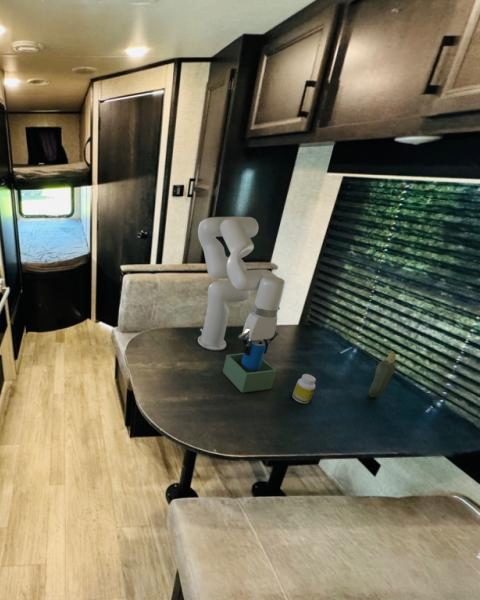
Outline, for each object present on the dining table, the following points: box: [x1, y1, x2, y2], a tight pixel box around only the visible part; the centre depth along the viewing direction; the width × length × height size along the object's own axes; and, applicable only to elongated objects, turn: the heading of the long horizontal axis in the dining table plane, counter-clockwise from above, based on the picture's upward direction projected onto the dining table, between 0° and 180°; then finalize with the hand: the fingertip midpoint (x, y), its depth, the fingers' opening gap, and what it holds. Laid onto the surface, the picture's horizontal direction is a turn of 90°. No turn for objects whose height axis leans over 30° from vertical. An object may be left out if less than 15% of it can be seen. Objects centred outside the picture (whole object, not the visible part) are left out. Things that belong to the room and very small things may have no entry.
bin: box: [222, 352, 278, 394], centre depth 123 cm, size 13×13×9 cm
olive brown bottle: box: [368, 349, 397, 398], centre depth 111 cm, size 4×4×20 cm
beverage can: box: [241, 339, 266, 371], centre depth 119 cm, size 6×6×12 cm
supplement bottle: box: [291, 373, 317, 404], centre depth 113 cm, size 5×5×10 cm
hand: (253, 352), depth 119 cm, fingers closed on beverage can, 6 cm apart
